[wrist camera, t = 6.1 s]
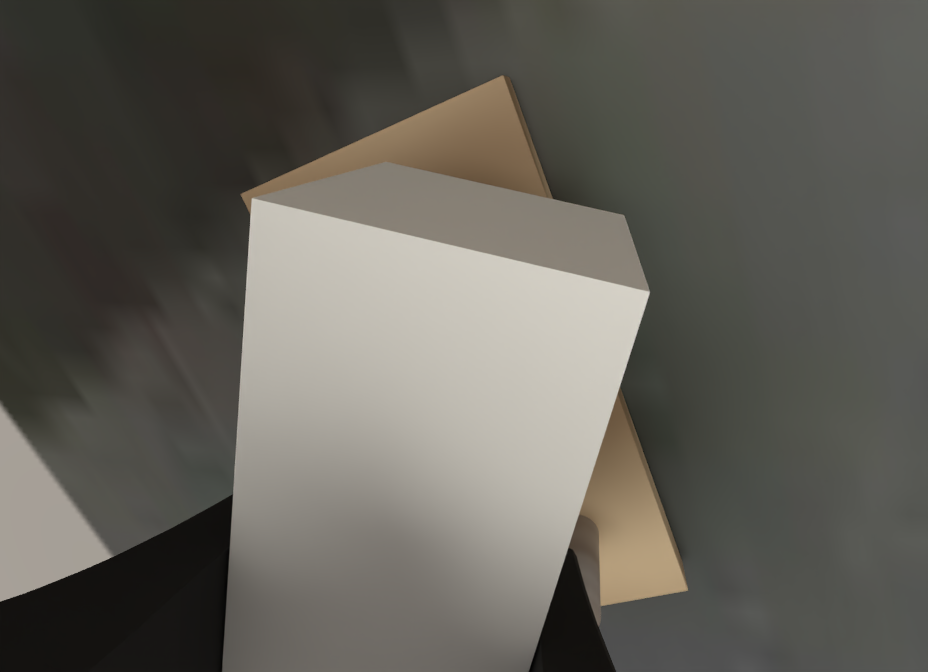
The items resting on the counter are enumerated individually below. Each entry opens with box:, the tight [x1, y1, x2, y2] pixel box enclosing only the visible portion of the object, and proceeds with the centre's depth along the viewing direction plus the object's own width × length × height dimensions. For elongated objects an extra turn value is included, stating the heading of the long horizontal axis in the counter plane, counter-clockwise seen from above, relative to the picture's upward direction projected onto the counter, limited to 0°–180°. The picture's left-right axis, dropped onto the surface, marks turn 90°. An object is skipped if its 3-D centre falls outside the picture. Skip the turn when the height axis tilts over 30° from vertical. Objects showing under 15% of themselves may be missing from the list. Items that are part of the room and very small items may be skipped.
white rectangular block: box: [222, 162, 650, 672], centre depth 10 cm, size 12×4×4 cm, turn 169°
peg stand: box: [241, 75, 688, 627], centre depth 15 cm, size 14×7×4 cm, turn 22°
